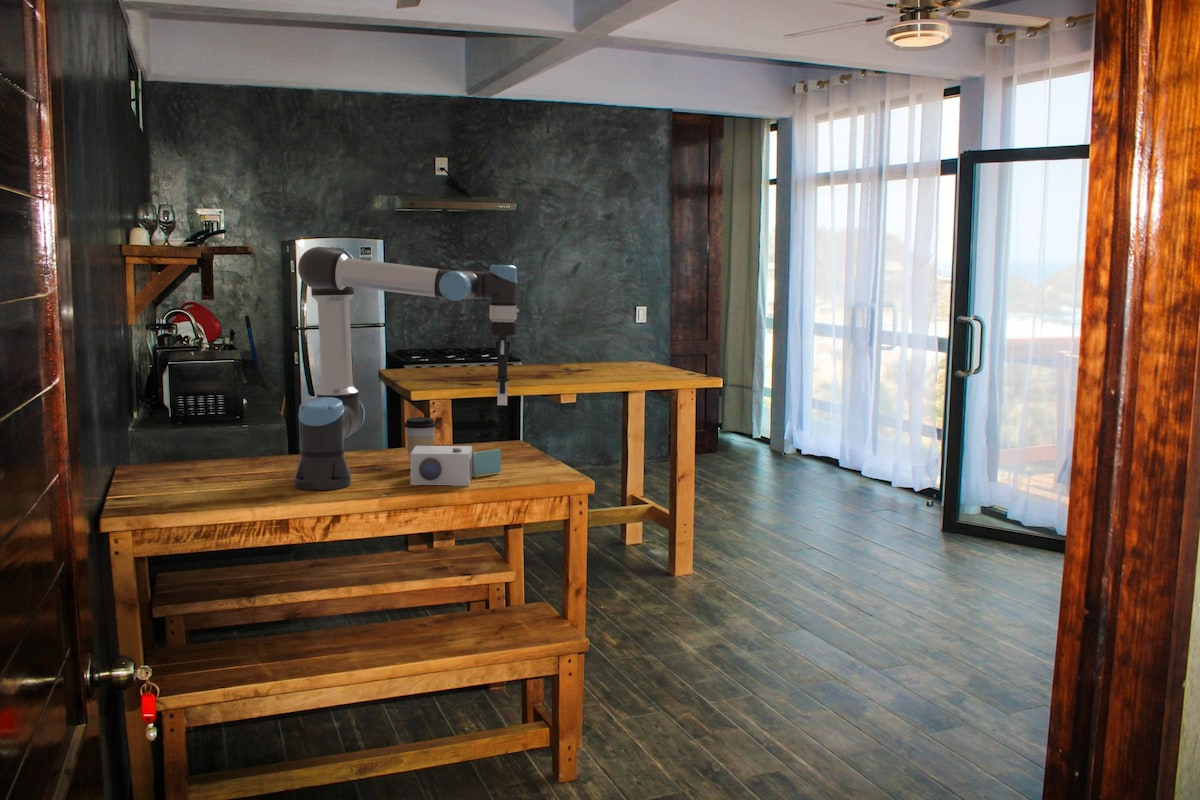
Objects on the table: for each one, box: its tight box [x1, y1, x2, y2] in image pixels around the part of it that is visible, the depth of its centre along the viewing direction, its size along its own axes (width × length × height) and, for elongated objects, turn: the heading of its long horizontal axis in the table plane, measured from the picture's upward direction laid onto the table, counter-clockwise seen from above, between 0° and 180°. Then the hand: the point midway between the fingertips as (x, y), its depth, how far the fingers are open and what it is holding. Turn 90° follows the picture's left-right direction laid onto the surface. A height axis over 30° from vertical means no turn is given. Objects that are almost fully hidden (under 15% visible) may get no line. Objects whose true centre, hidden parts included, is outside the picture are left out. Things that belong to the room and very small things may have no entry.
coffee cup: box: [403, 416, 437, 460], centre depth 293 cm, size 9×9×15 cm
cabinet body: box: [409, 445, 473, 487], centre depth 276 cm, size 16×13×10 cm
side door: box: [472, 448, 502, 478], centre depth 285 cm, size 10×2×7 cm, turn 129°
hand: (502, 404), depth 277 cm, fingers closed
